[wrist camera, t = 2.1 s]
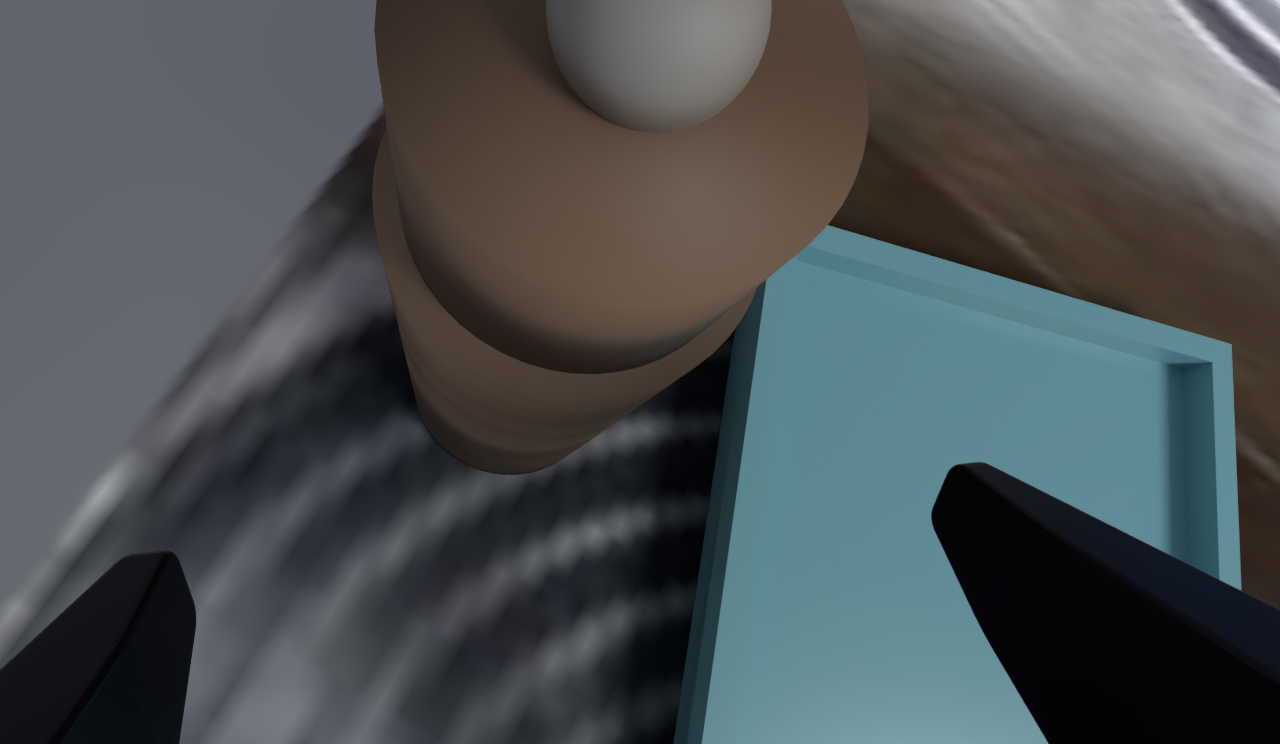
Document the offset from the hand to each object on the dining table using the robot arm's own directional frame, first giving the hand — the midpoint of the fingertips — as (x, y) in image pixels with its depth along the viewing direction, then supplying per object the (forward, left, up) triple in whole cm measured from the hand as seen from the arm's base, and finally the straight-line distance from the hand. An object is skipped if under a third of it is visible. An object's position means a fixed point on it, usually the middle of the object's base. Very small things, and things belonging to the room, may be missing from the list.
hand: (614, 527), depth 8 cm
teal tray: (+1, -13, -11) cm, 17 cm away
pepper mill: (+4, +1, -11) cm, 12 cm away
